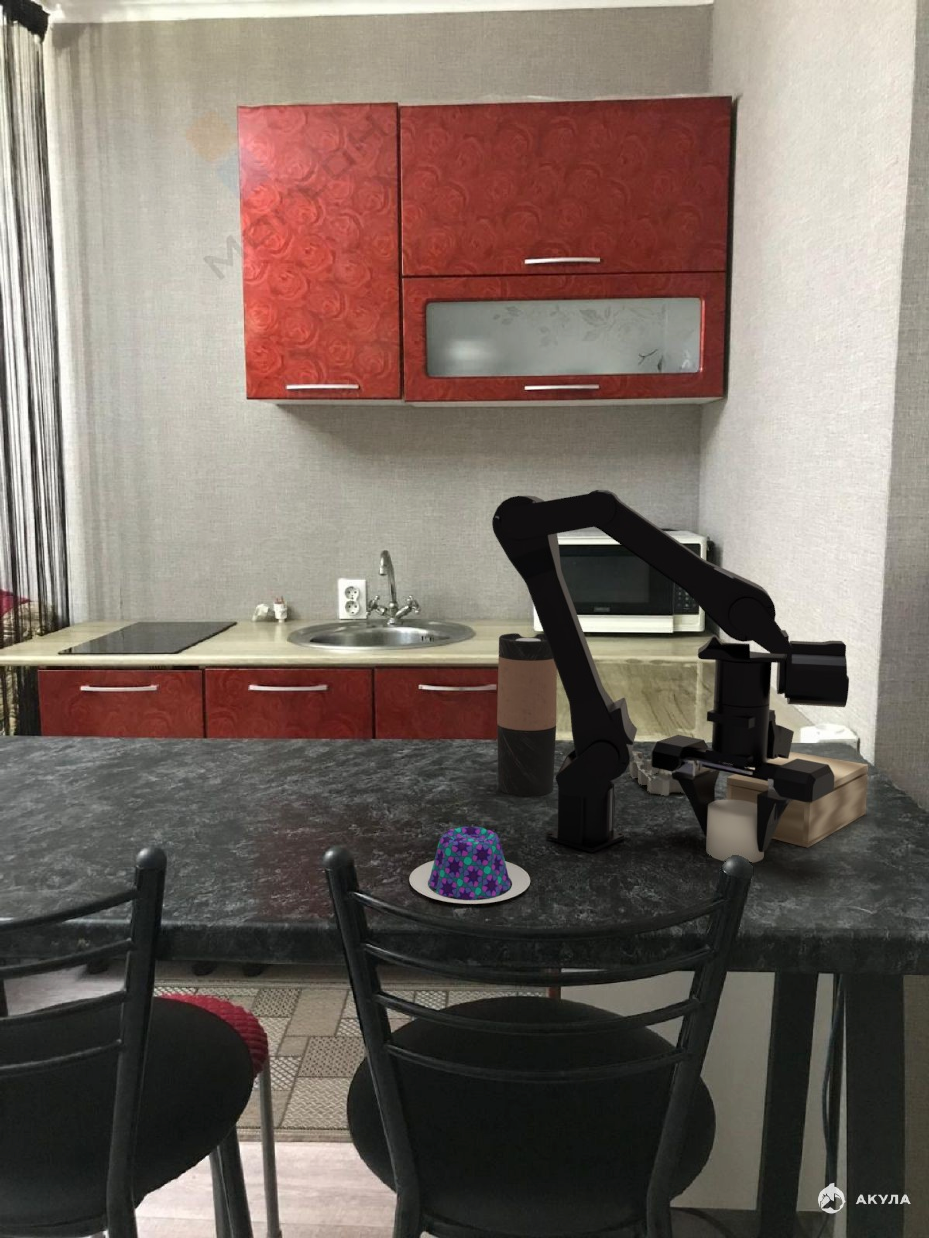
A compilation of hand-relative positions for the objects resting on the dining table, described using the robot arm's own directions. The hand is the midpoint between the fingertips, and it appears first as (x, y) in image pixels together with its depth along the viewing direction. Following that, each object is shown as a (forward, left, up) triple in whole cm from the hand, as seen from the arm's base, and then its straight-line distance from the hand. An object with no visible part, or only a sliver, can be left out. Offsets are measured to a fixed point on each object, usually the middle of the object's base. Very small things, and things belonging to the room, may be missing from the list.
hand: (735, 843), depth 107 cm
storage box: (+15, 0, -1) cm, 15 cm away
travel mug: (+2, +31, -1) cm, 31 cm away
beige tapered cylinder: (0, 0, -1) cm, 1 cm away
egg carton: (+17, +19, -2) cm, 26 cm away
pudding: (-26, +15, -2) cm, 30 cm away
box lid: (+15, 0, +4) cm, 16 cm away
